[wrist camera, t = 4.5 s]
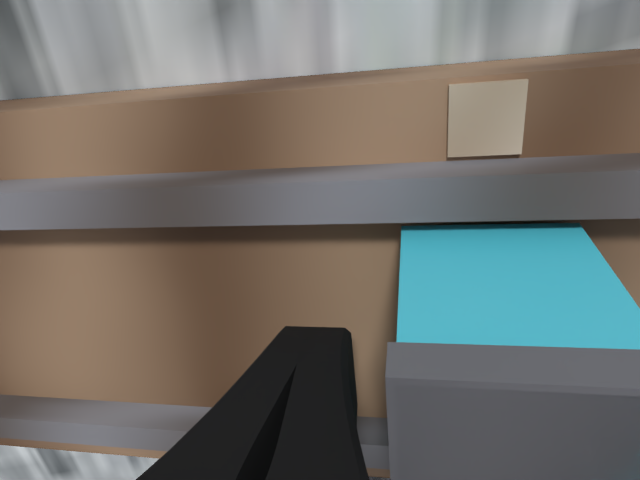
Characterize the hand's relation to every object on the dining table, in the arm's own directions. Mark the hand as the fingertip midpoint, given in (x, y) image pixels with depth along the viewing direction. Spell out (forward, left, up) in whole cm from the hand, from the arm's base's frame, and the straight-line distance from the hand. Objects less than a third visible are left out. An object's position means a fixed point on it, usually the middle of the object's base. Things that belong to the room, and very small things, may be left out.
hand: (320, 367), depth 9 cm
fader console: (+2, 0, -3) cm, 4 cm away
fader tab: (-3, 0, -1) cm, 3 cm away
